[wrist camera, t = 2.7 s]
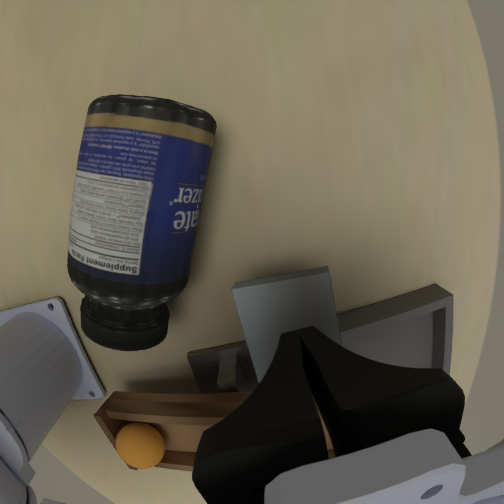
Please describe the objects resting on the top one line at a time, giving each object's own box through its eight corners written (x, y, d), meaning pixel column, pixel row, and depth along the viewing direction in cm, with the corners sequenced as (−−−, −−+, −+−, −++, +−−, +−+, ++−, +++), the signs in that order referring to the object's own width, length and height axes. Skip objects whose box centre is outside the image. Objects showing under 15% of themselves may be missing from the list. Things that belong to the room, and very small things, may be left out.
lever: (145, 443, 19) (129, 468, 16) (75, 306, 16) (47, 326, 14) (352, 442, 15) (353, 476, 13) (327, 265, 13) (330, 289, 10)
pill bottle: (224, 126, 16) (190, 316, 19) (121, 113, 16) (98, 294, 18) (208, 99, 10) (165, 375, 13) (65, 89, 10) (46, 337, 12)
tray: (343, 405, 20) (351, 425, 18) (330, 316, 19) (340, 332, 17) (434, 373, 20) (447, 388, 18) (435, 283, 18) (453, 294, 16)
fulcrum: (220, 429, 21) (217, 461, 17) (188, 352, 19) (178, 382, 16) (288, 417, 20) (293, 449, 17) (266, 335, 19) (270, 365, 16)
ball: (140, 443, 18) (122, 474, 15) (120, 411, 17) (98, 442, 14) (178, 446, 17) (162, 480, 14) (160, 413, 16) (139, 448, 13)
